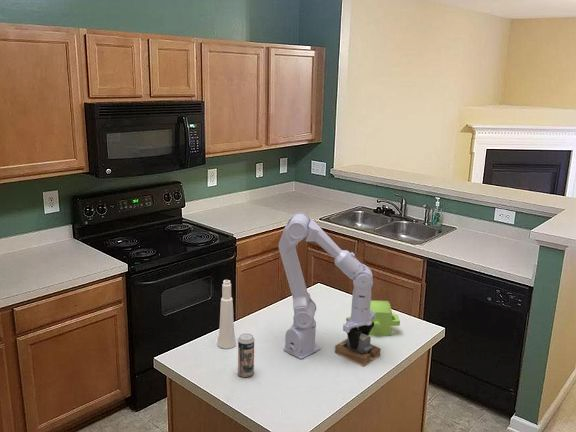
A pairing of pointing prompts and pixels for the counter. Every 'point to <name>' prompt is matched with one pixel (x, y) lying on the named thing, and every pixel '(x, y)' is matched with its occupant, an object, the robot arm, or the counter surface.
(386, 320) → the gearbox
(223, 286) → the cosmetic bottle
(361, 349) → the block
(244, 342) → the beer can
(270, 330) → the counter surface
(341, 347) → the pocket block
